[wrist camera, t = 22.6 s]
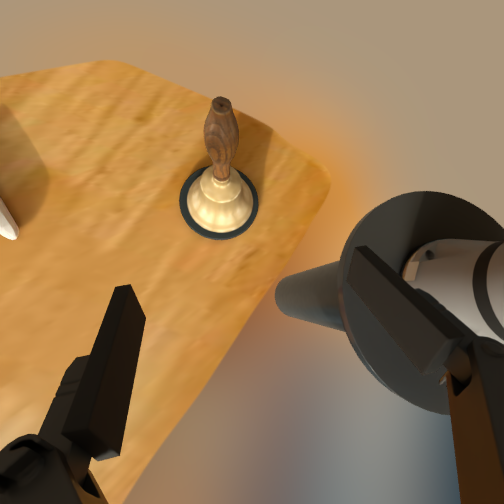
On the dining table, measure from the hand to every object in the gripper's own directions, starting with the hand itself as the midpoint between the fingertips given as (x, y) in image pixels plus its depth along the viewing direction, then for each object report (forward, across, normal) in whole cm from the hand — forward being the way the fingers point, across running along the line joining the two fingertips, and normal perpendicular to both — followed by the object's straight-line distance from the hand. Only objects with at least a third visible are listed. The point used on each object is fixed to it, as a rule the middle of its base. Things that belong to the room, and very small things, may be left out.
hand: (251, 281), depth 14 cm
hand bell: (+18, 0, +3) cm, 19 cm away
